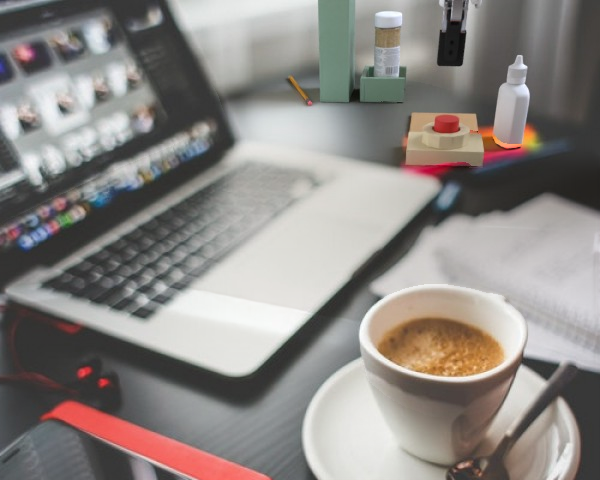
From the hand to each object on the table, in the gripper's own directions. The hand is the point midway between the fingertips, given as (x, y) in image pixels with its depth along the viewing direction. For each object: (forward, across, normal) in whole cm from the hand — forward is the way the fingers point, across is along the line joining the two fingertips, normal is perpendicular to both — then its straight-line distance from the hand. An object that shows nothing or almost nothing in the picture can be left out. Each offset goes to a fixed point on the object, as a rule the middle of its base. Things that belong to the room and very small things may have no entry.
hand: (449, 64), depth 80 cm
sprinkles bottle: (+13, +28, +10) cm, 32 cm away
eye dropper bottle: (+12, +6, -9) cm, 17 cm away
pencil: (+13, +30, +26) cm, 41 cm away
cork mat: (+12, +12, 0) cm, 17 cm away
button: (+9, 0, 0) cm, 9 cm away
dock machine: (+12, +28, +13) cm, 33 cm away
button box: (+12, 0, 0) cm, 12 cm away
